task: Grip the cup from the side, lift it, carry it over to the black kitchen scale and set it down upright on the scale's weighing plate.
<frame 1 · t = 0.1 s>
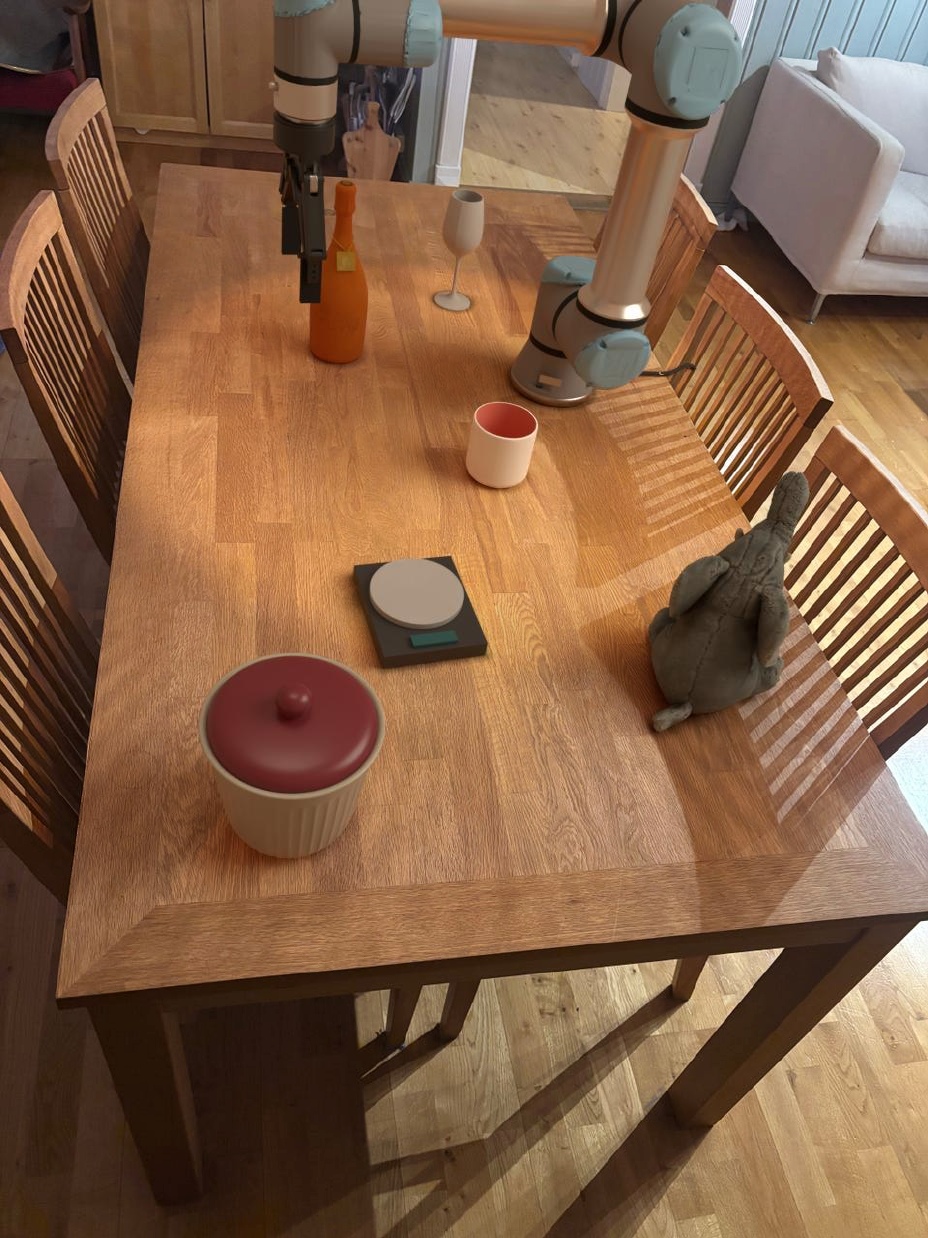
hand: (300, 277, 133), 28 cm above the table, tool pointing down, fingers open, 13 cm apart
cup: (495, 473, 156), on the table
stuffed elephant: (699, 676, 131), on the table
scale: (417, 615, 131), on the table
wineglass: (451, 302, 193), on the table
wine bottle: (336, 352, 174), on the table
canister: (290, 813, 107), on the table
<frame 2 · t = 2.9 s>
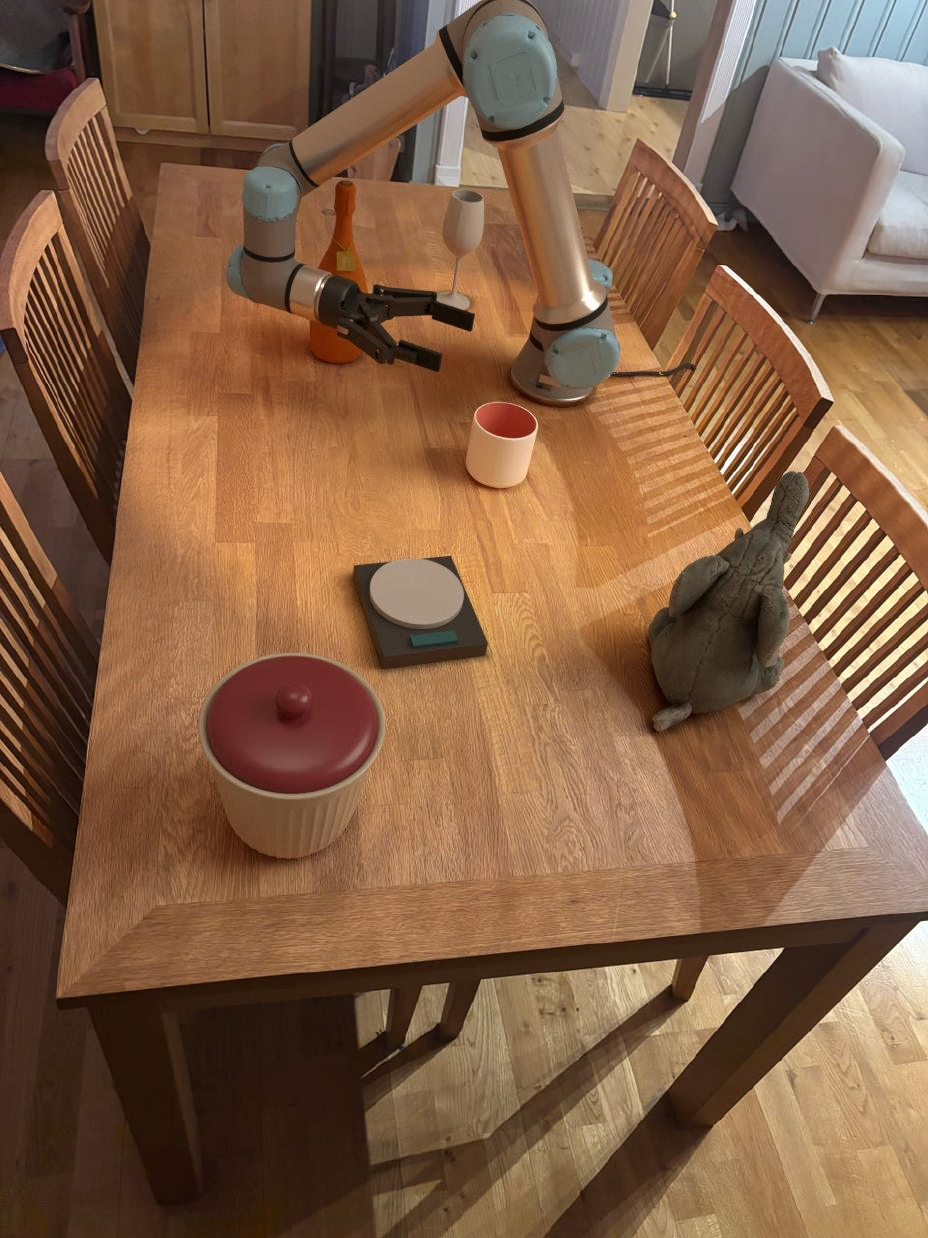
hand: (457, 342, 143), 20 cm above the table, tool horizontal, fingers open, 13 cm apart
nothing on the table moved.
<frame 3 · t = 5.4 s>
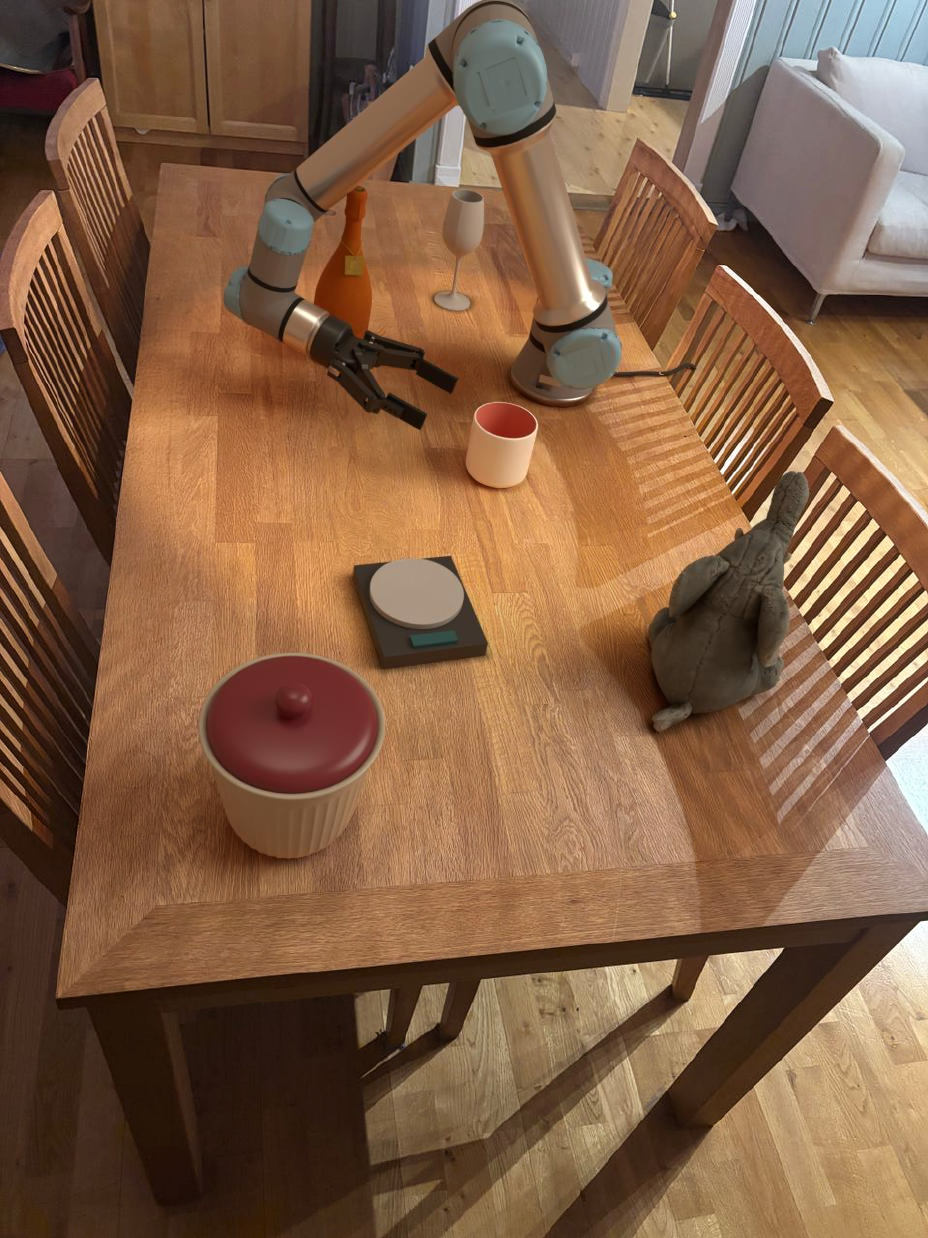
hand: (440, 403, 149), 10 cm above the table, tool horizontal, fingers open, 13 cm apart
wine bottle: (336, 353, 174), on the table, touching arm
everything else where it was.
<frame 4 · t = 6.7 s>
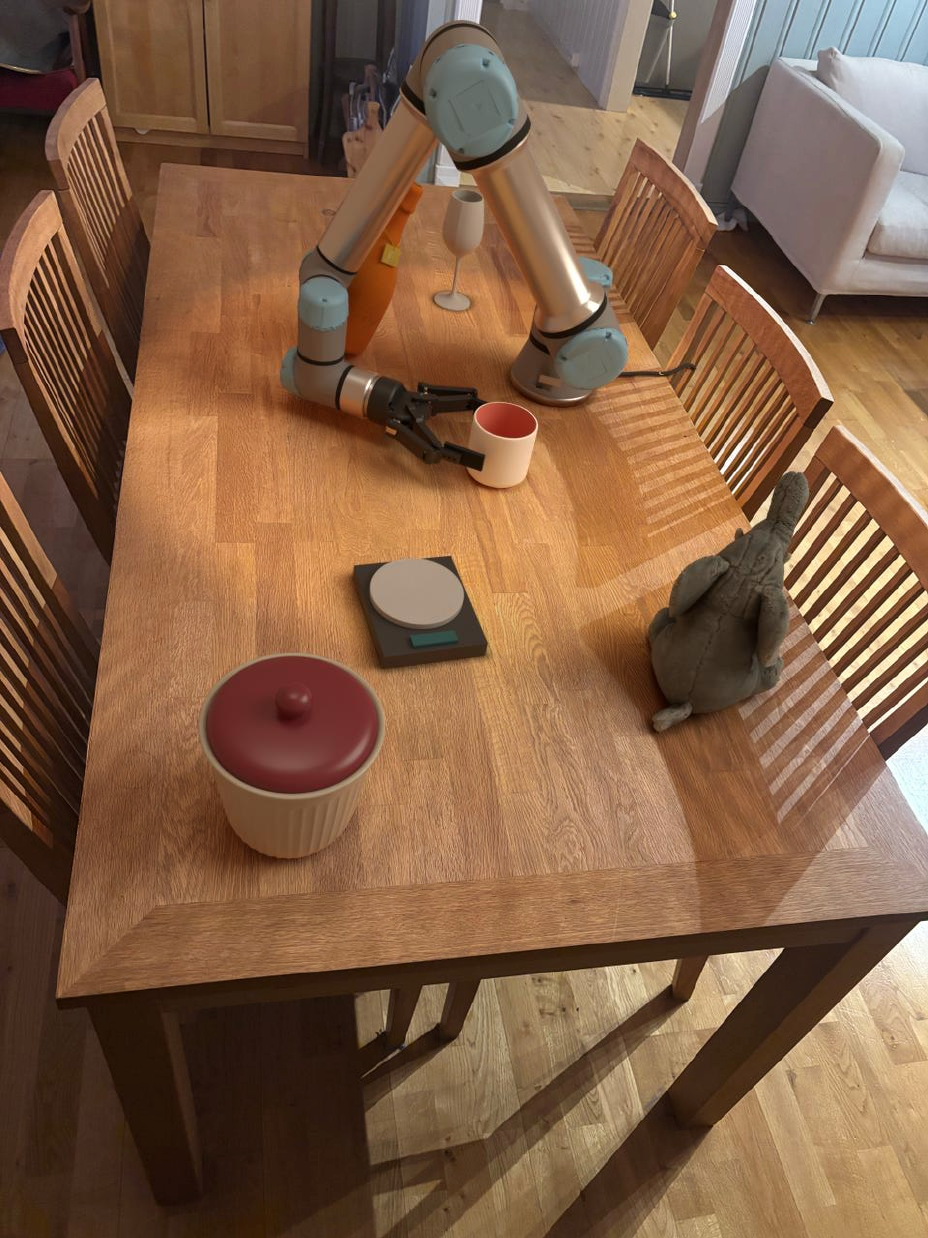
hand: (498, 440, 151), 6 cm above the table, tool horizontal, fingers open, 13 cm apart
wine bottle: (338, 342, 173), point 2 cm above the table
everything else where it was.
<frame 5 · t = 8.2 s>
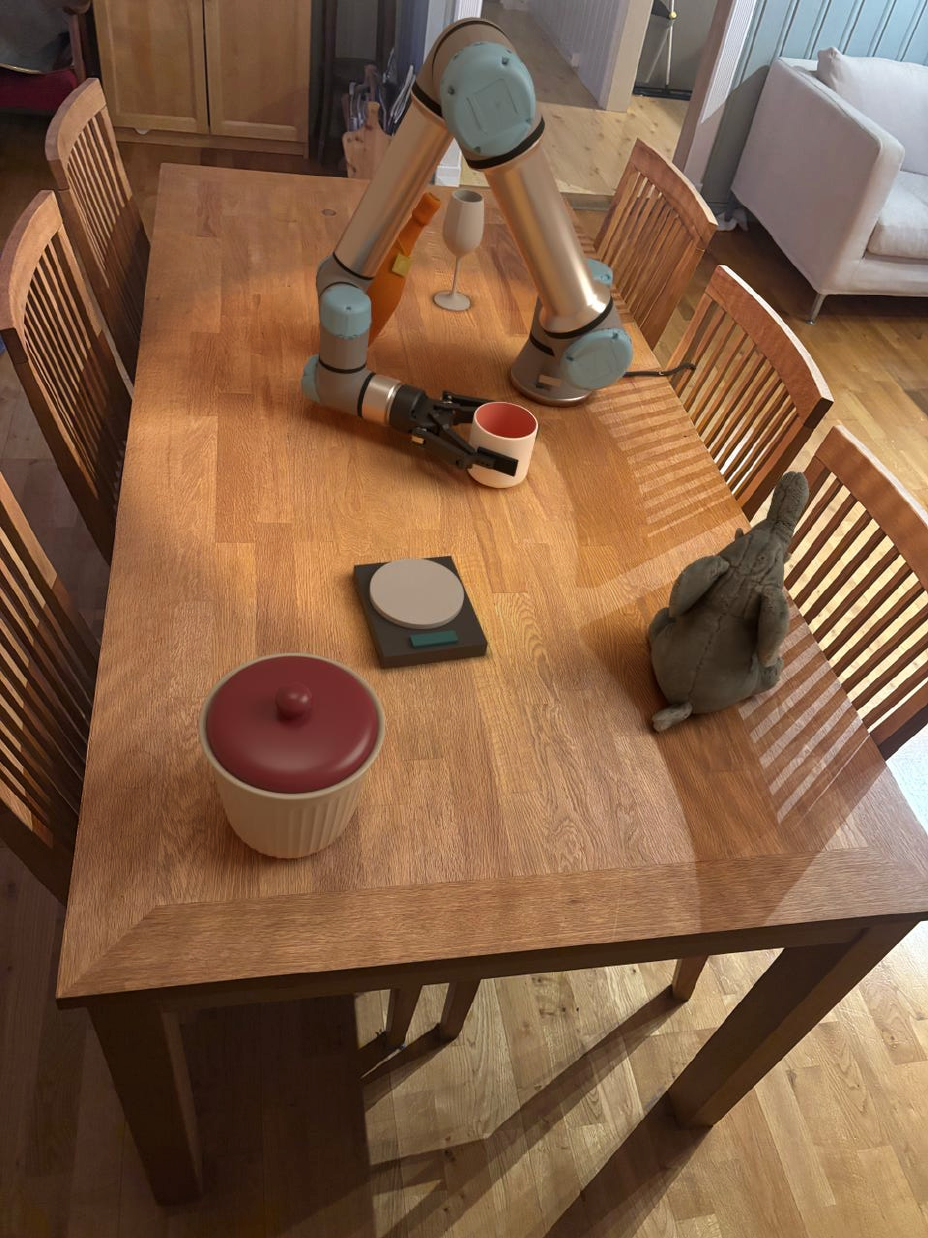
hand: (527, 450, 151), 6 cm above the table, tool horizontal, fingers closed on cup, 10 cm apart
cup: (495, 473, 156), on the table, touching gripper
wine bottle: (339, 341, 172), point 2 cm above the table, touching arm
everything else where it was.
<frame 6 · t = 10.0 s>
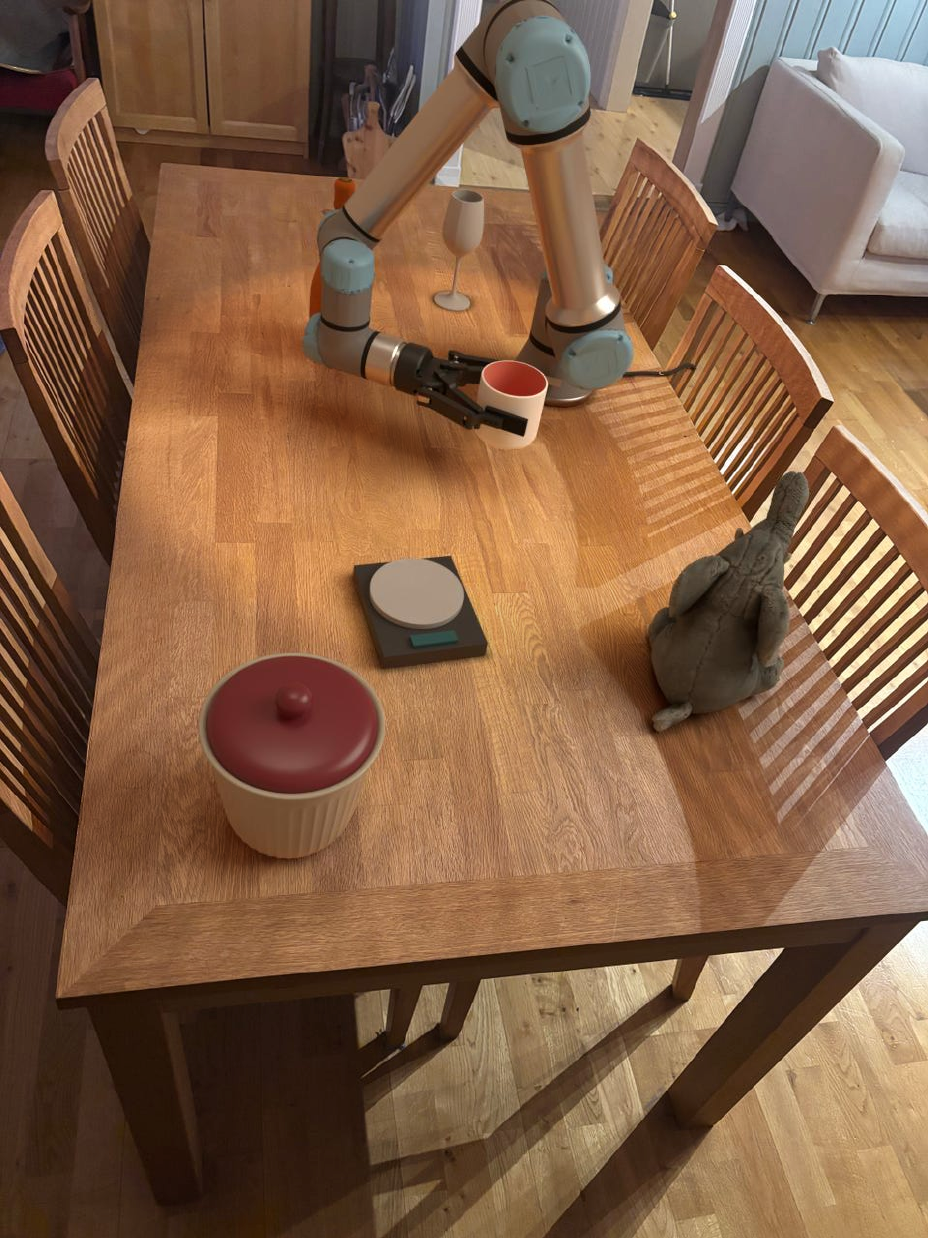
hand: (536, 410, 145), 13 cm above the table, tool horizontal, fingers closed on cup, 10 cm apart
cup: (503, 435, 151), point 7 cm above the table, touching gripper
wine bottle: (335, 351, 174), on the table
everything else where it was.
when the fingers open (9 cm above the table, at t = 17.5 s): cup stays where it is, resting on scale.
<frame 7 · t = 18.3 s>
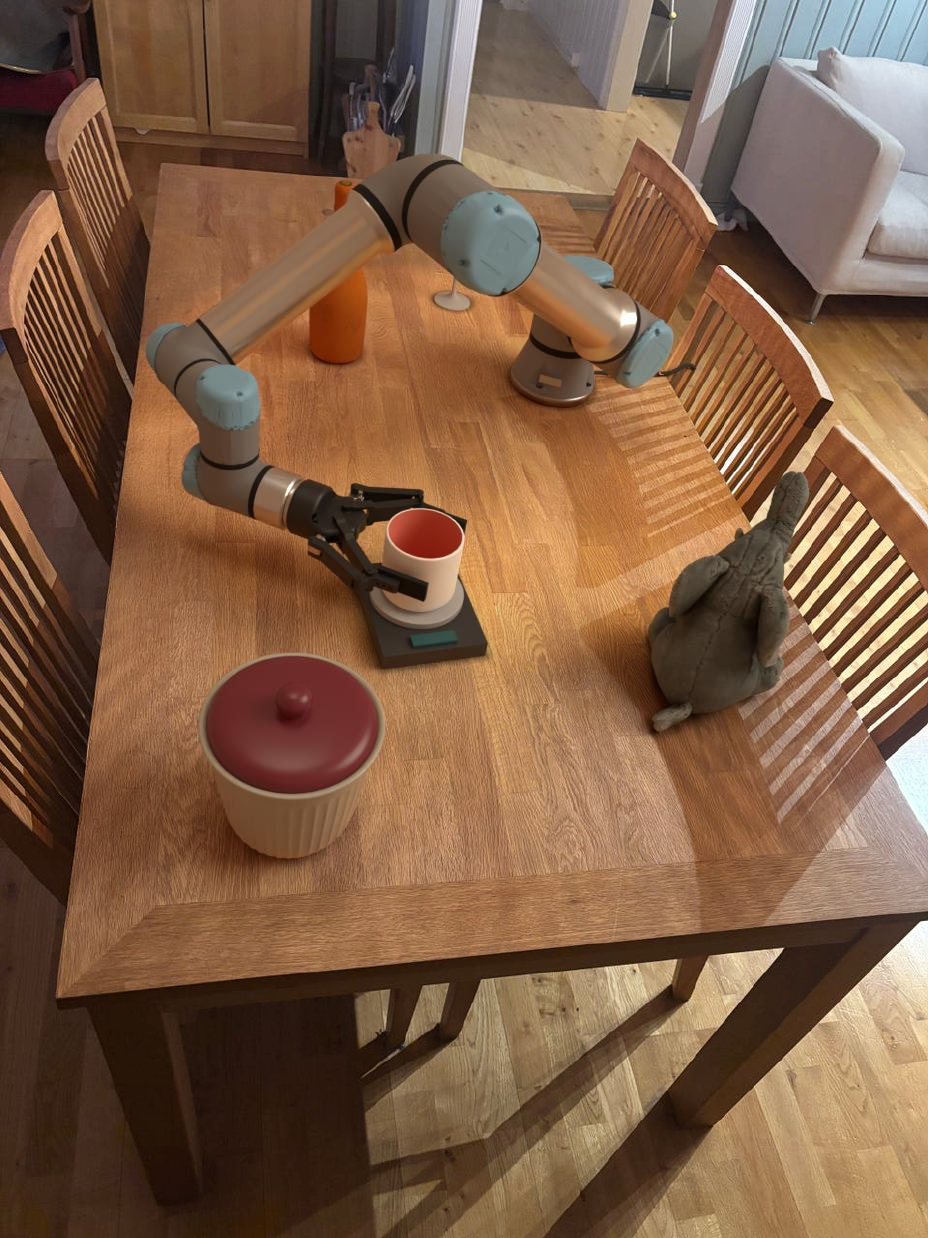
hand: (446, 559, 124), 10 cm above the table, tool horizontal, fingers open, 13 cm apart
cup: (416, 590, 129), point 3 cm above the table, touching scale
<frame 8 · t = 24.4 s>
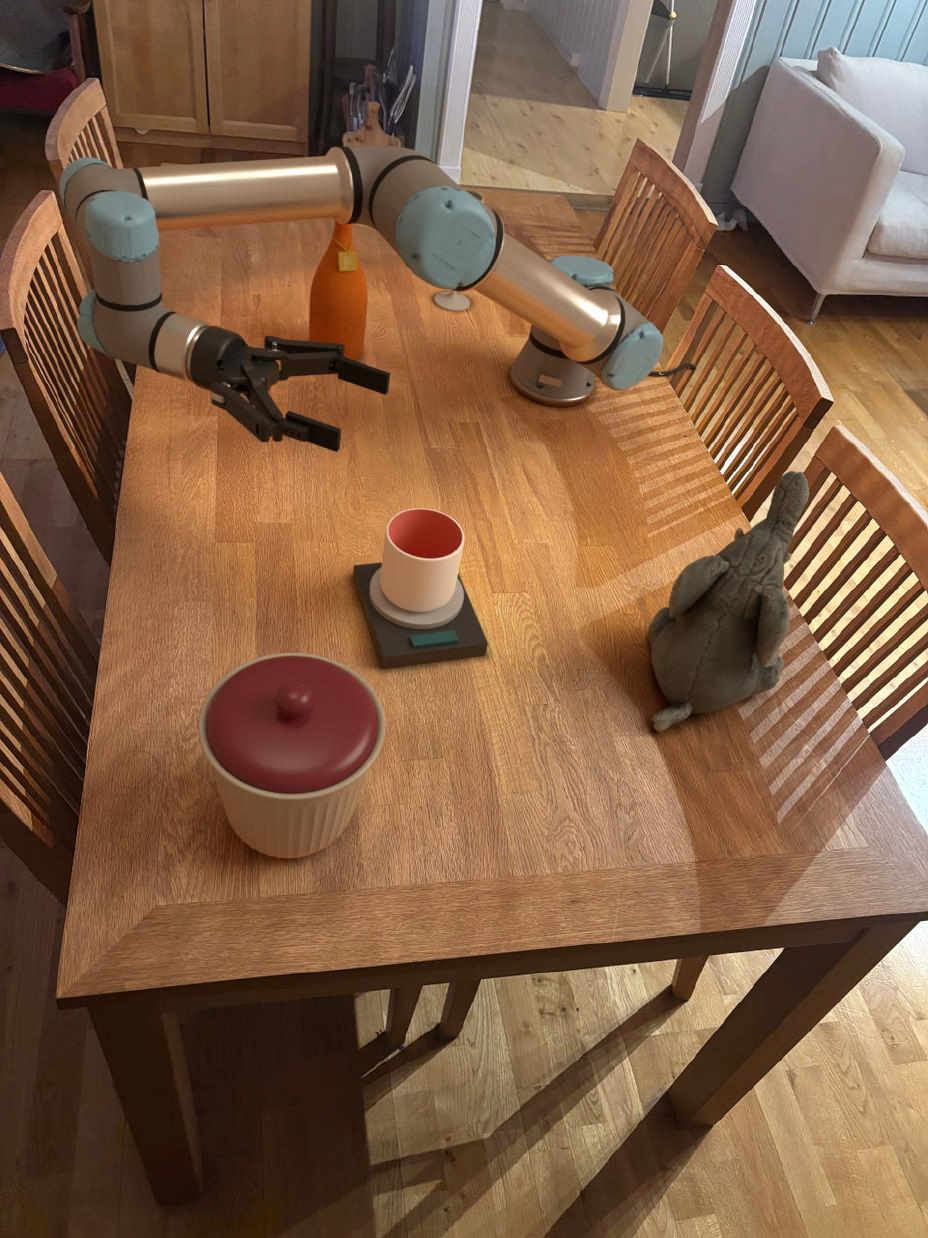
hand: (364, 411, 113), 28 cm above the table, tool horizontal, fingers open, 13 cm apart
nothing on the table moved.
at the end: cup inside the target area on the scale (0.1 cm from its centre), point 3.2 cm above the scale's base; cup tilted 0°; the gripper is holding nothing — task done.
